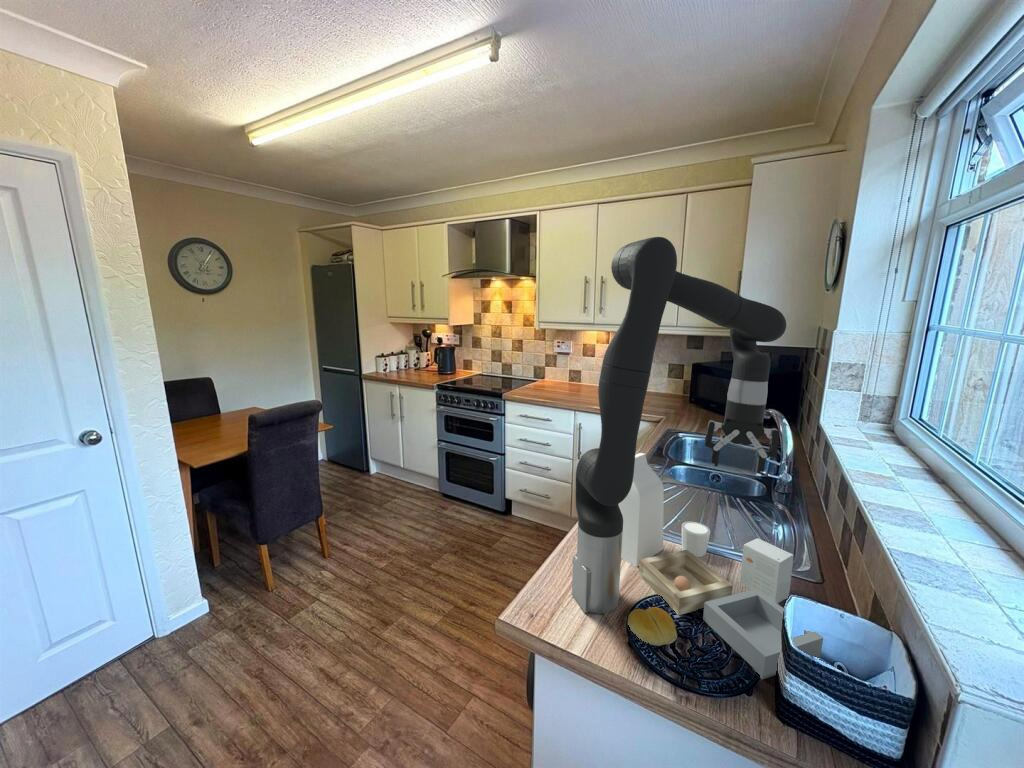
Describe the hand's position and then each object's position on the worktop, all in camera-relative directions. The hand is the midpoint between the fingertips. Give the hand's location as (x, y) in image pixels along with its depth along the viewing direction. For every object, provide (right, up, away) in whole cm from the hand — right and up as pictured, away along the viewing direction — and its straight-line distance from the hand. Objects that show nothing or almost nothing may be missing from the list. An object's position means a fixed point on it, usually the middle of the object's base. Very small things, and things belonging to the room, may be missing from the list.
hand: (736, 468), depth 92 cm
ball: (-14, -27, -3) cm, 30 cm away
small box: (+5, -27, -2) cm, 28 cm away
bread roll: (-24, -29, -13) cm, 40 cm away
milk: (-20, -25, +14) cm, 35 cm away
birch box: (-13, -27, -1) cm, 30 cm away
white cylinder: (-4, -25, +13) cm, 28 cm away
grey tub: (-4, -30, -15) cm, 33 cm away
